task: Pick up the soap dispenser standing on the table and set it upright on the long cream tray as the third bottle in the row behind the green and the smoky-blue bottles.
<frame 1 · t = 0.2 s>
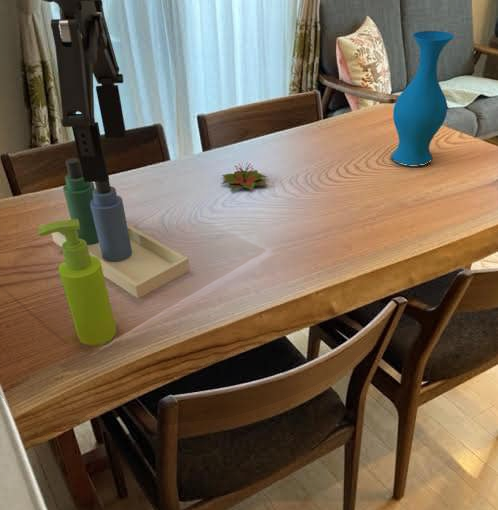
hand: (107, 157, 67), 28 cm above the table, tool pointing down, fingers open, 13 cm apart
vase: (411, 160, 134), on the table
smoky-blue bottle: (117, 254, 102), point 1 cm above the table, touching tray
lily flower: (244, 183, 126), on the table
soap dispenser: (94, 336, 85), on the table
tray: (119, 257, 102), on the table
green bottle: (90, 237, 107), point 1 cm above the table, touching tray
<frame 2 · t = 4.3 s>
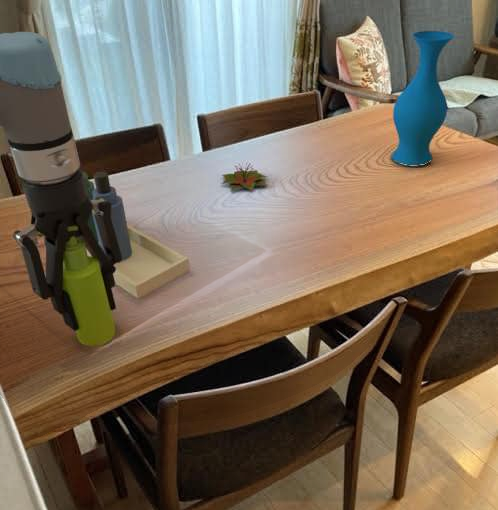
hand: (90, 315, 82), 4 cm above the table, tool pointing down, fingers closed on soap dispenser, 6 cm apart
soap dispenser: (94, 337, 85), on the table, touching gripper
everything else where it was.
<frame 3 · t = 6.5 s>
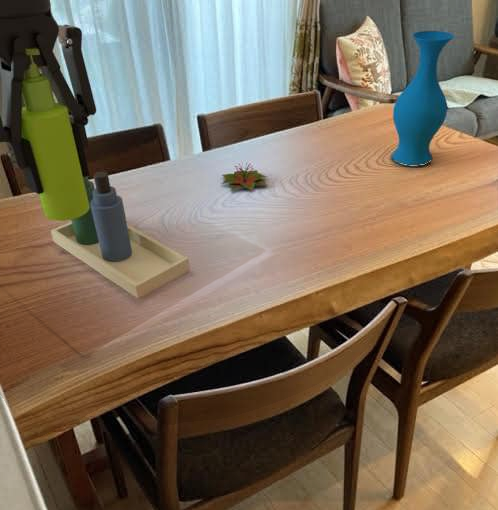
hand: (59, 181, 70), 25 cm above the table, tool pointing down, fingers closed on soap dispenser, 6 cm apart
soap dispenser: (63, 212, 72), point 21 cm above the table, touching gripper
everything else where it was.
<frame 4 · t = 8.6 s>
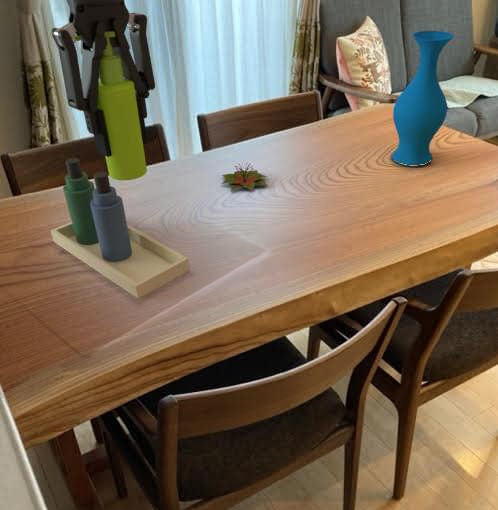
hand: (122, 147, 82), 24 cm above the table, tool pointing down, fingers closed on soap dispenser, 6 cm apart
soap dispenser: (124, 174, 84), point 20 cm above the table, touching gripper
everything else where it was.
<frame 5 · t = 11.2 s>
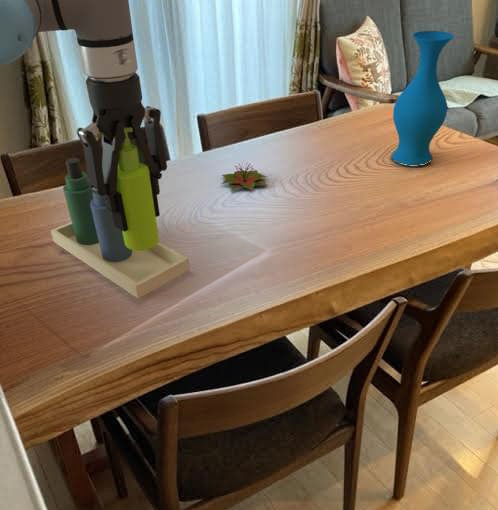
hand: (137, 220, 90), 11 cm above the table, tool pointing down, fingers closed on soap dispenser, 6 cm apart
soap dispenser: (139, 243, 93), point 7 cm above the table, touching gripper
everything else where it was.
when the fingers open (5 cm above the table, at t = 13.1 s): soap dispenser stays where it is, resting on tray.
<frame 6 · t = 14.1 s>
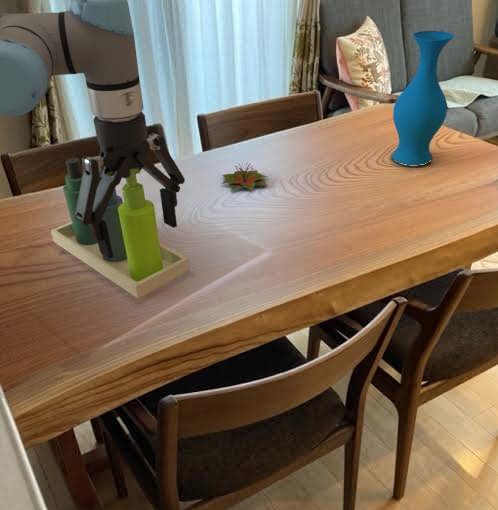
hand: (139, 239, 93), 7 cm above the table, tool pointing down, fingers open, 13 cm apart
soap dispenser: (144, 274, 97), resting on tray
everything else where it was.
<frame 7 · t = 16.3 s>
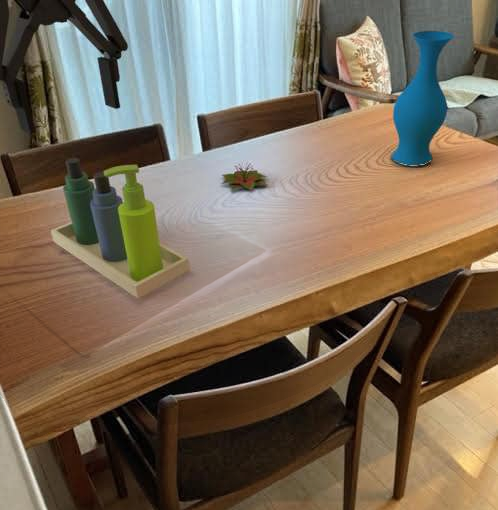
hand: (72, 118, 76), 29 cm above the table, tool pointing down, fingers open, 13 cm apart
nothing on the table moved.
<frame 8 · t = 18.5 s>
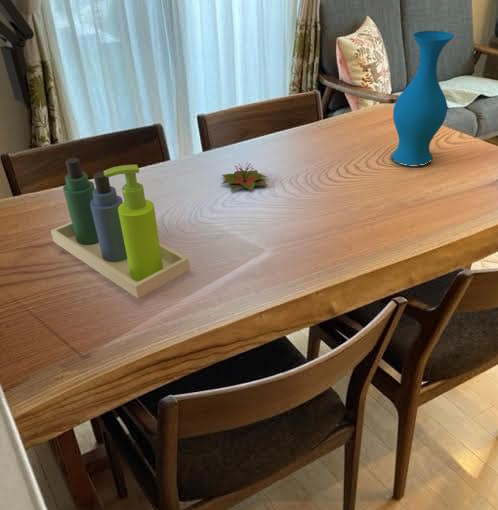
nothing on the table moved.
at the end: soap dispenser 0.6 cm from the target spot in the tray, point 0.4 cm above the tray's base; soap dispenser tilted 0°; smoky-blue bottle moved 0.0 cm from its start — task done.
